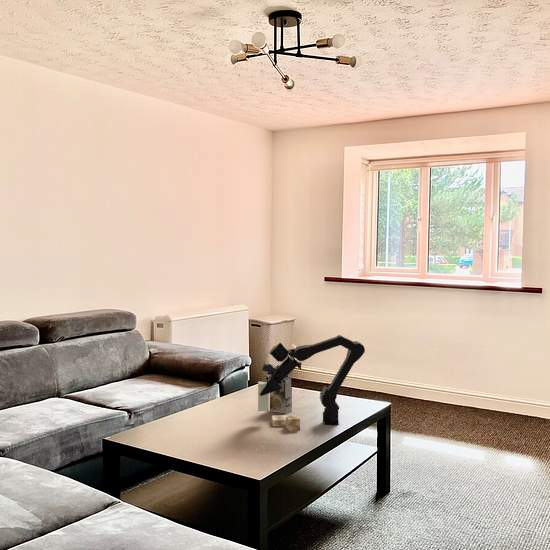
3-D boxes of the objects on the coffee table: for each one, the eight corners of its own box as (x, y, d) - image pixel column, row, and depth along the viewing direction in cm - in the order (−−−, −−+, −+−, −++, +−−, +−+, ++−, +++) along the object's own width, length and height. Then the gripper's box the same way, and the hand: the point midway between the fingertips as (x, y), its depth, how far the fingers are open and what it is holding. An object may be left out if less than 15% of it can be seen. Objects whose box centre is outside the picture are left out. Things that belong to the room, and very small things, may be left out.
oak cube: (296, 426, 260) (296, 415, 260) (300, 430, 255) (300, 418, 255) (285, 427, 259) (285, 416, 258) (288, 431, 254) (288, 419, 253)
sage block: (268, 408, 266) (268, 381, 265) (268, 411, 261) (268, 384, 260) (258, 408, 265) (258, 381, 265) (258, 411, 261) (258, 384, 260)
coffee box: (292, 410, 284) (292, 377, 283) (285, 414, 278) (285, 380, 277) (276, 408, 289) (276, 375, 288) (269, 411, 283) (269, 377, 282)
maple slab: (287, 421, 268) (287, 415, 267) (288, 426, 261) (289, 419, 260) (271, 422, 267) (271, 415, 267) (273, 426, 260) (273, 420, 260)
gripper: (271, 352, 271) (247, 376, 272) (273, 360, 253) (247, 386, 253) (288, 369, 272) (264, 393, 272) (291, 378, 254) (265, 404, 254)
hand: (260, 393), depth 263 cm, fingers closed on sage block, 4 cm apart
